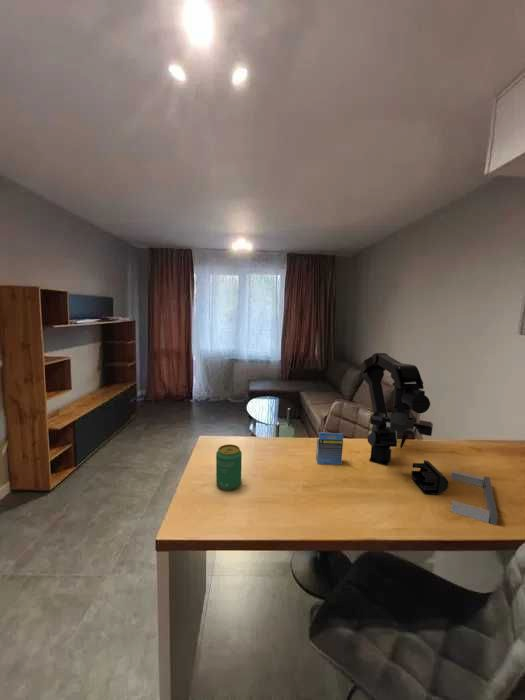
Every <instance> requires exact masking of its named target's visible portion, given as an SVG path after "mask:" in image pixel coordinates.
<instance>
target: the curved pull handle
mask: <svg viewBox="0 0 525 700" xmlns="http://www.w3.org/2000/svg"><path fill="white" fill-rule="evenodd" d="M450 480H451V481H456V482H460V483H464V484H468V485H472V486H475V487H480V488H483V493H484V498H485V504H486V509H484V508H481V507H477V506H474V505H470V504H467V503H463V502H460V501H456V500H451V504H450V512H451V513H453V514H454V513H455V514H458V515H460V516H464V517H467V518H471V519H474V520H478V521H480V522H484V523H488V524H491V525H495V526H496V525H497V522H498V516H499V515H498V511H497V510H498V509H497V505H496V501H495V497H494V491H493V486H492V482H491V478H490V477H489V476H479V475H475V474H474V475H473V474H470V473H467V472H462V471H459V470H458V471H457V470H454V469H451V474H450Z"/></svg>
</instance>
